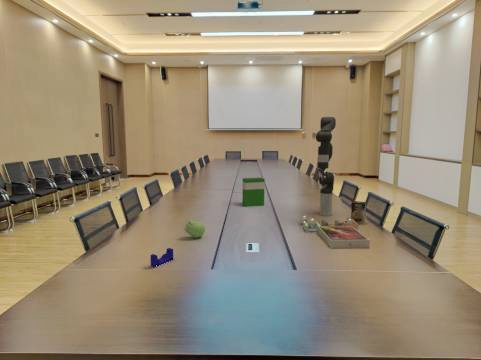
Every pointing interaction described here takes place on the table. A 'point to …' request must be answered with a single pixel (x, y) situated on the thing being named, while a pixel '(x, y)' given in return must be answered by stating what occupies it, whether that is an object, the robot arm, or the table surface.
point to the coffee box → (358, 212)
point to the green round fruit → (195, 229)
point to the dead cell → (349, 220)
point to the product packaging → (343, 237)
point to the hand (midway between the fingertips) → (322, 184)
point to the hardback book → (253, 192)
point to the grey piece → (325, 223)
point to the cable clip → (162, 258)
